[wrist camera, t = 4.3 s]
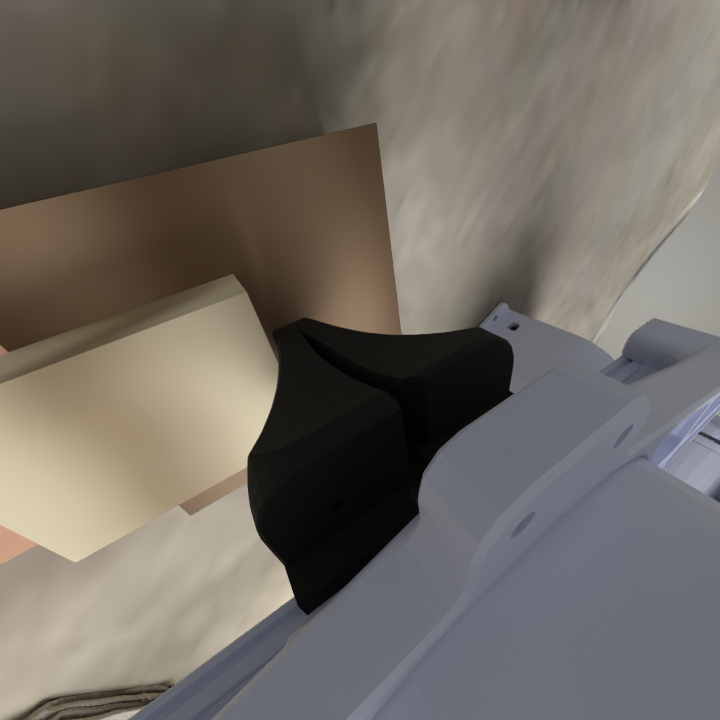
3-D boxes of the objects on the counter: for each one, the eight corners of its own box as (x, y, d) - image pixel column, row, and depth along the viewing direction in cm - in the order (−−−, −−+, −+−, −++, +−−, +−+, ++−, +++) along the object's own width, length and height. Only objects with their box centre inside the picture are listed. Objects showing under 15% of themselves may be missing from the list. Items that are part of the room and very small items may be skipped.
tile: (233, 273, 10) (246, 291, 8) (292, 403, 13) (308, 432, 12) (-96, 388, 7) (-161, 443, 6) (86, 509, 11) (75, 562, 9)
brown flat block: (325, 134, 13) (376, 122, 10) (370, 357, 20) (407, 389, 17) (-29, 216, 9) (-120, 237, 6) (184, 453, 16) (190, 515, 13)
